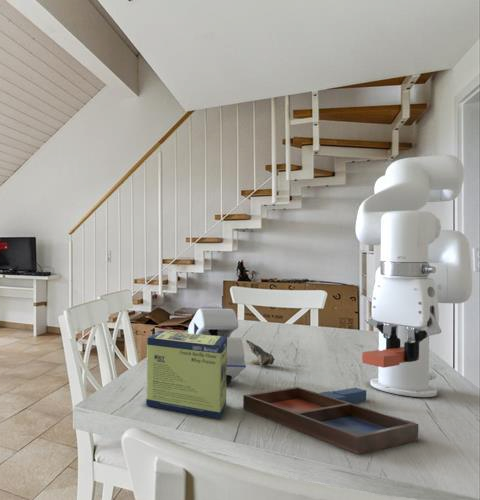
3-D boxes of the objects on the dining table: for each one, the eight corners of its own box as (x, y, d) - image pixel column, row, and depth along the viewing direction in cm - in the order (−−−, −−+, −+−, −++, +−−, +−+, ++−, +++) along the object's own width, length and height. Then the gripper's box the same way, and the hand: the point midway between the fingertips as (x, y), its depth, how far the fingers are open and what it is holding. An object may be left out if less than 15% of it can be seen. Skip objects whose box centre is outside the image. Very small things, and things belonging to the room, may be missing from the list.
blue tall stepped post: (351, 396, 113) (352, 386, 113) (370, 402, 109) (370, 391, 109) (313, 403, 109) (313, 392, 109) (330, 409, 105) (331, 398, 105)
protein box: (221, 420, 99) (222, 345, 98) (145, 406, 107) (145, 337, 106) (227, 405, 107) (228, 336, 107) (156, 393, 116) (157, 329, 115)
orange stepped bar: (401, 356, 102) (401, 345, 102) (423, 361, 98) (423, 349, 98) (361, 362, 97) (362, 351, 97) (383, 367, 94) (384, 355, 94)
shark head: (240, 363, 143) (240, 341, 143) (251, 360, 147) (251, 338, 147) (267, 369, 137) (267, 346, 136) (278, 366, 140) (278, 343, 140)
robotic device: (228, 401, 132) (214, 334, 143) (256, 375, 114) (238, 300, 125) (189, 400, 133) (178, 333, 144) (211, 373, 115) (197, 300, 126)
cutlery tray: (297, 399, 111) (297, 386, 111) (418, 440, 88) (418, 423, 88) (243, 408, 105) (243, 394, 105) (358, 454, 83) (358, 437, 83)
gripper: (463, 272, 92) (461, 367, 93) (372, 268, 107) (371, 349, 108) (440, 274, 90) (438, 371, 90) (350, 268, 105) (349, 352, 105)
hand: (402, 358), depth 99 cm, fingers closed on orange stepped bar, 2 cm apart
